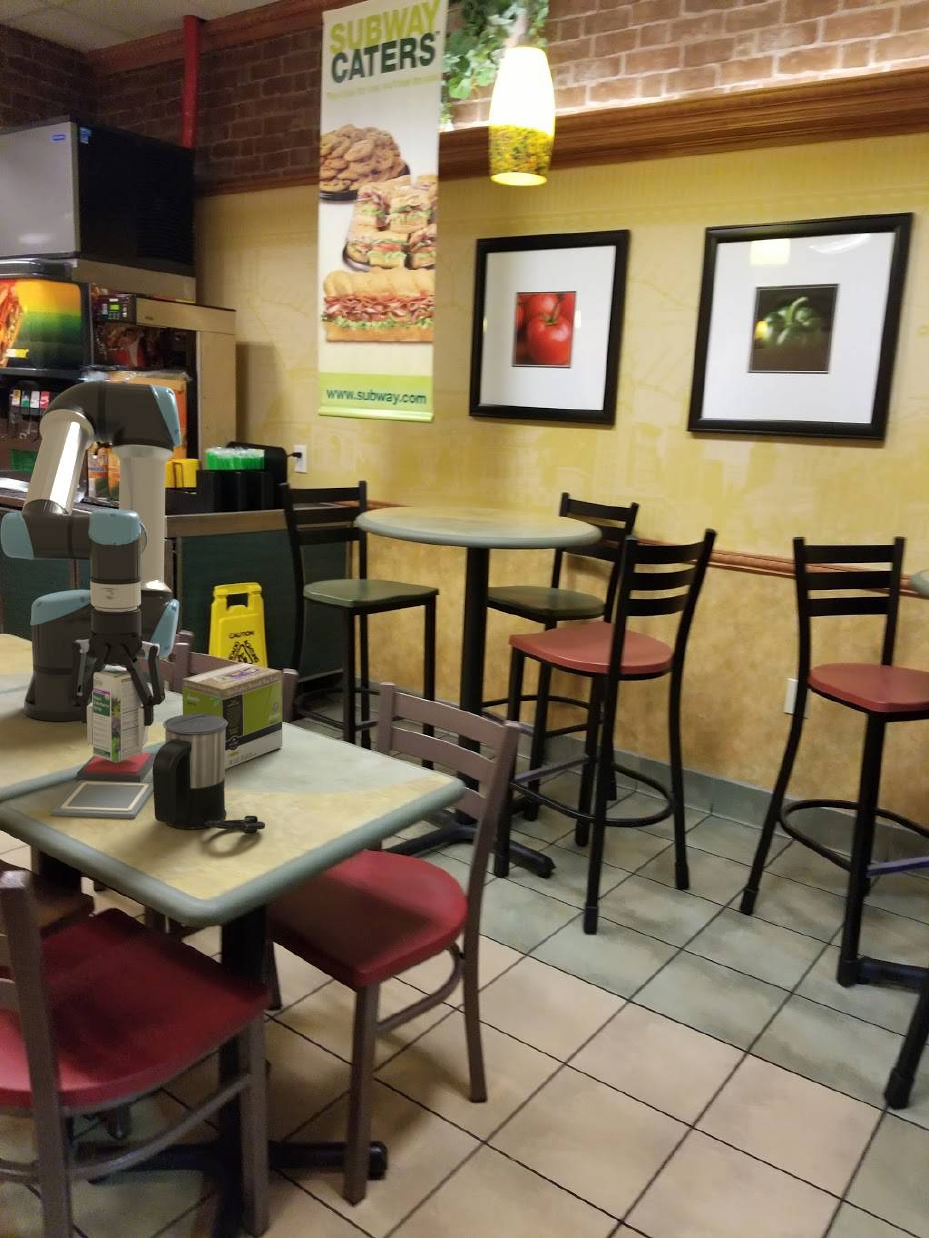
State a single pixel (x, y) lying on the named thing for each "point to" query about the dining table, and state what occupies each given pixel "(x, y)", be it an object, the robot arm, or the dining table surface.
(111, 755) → the syrup box
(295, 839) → the dining table surface
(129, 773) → the ink pad
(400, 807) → the dining table surface
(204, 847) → the dining table surface
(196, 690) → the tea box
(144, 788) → the marked board
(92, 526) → the robot arm
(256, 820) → the milk frother
